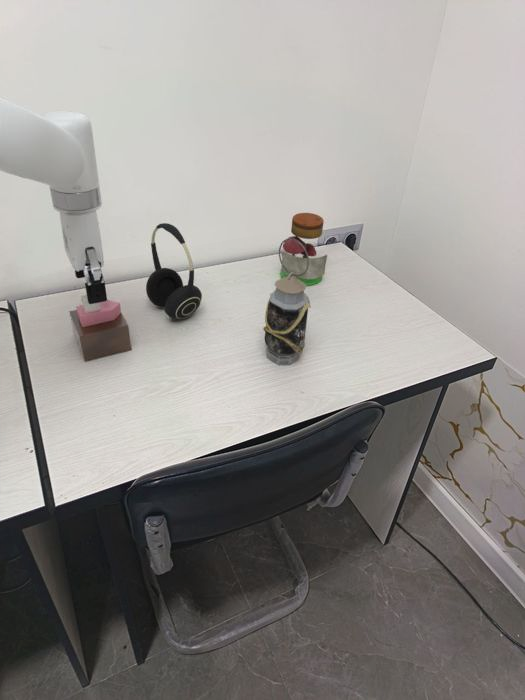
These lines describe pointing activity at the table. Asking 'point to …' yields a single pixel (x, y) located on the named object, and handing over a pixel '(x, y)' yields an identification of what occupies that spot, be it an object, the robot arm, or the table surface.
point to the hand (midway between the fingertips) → (91, 288)
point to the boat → (97, 312)
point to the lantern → (286, 318)
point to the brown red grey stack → (307, 229)
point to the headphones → (172, 283)
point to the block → (101, 337)
